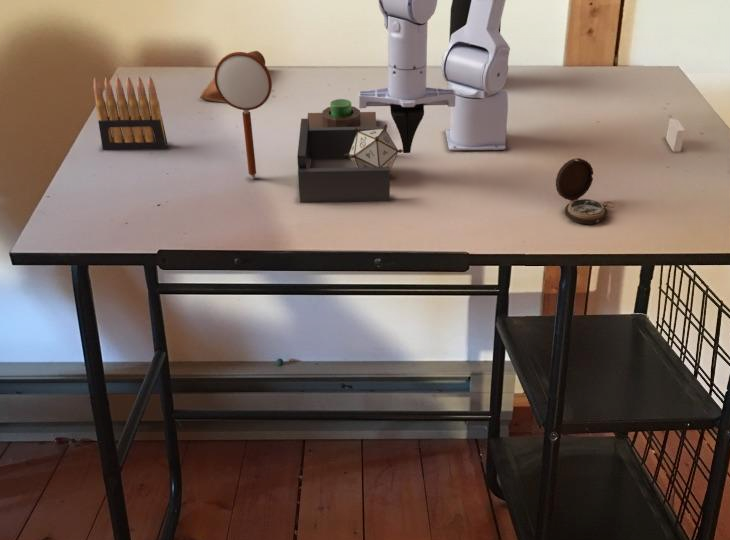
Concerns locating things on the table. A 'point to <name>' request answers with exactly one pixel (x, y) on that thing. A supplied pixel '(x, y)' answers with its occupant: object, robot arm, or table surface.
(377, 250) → the table surface
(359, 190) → the cubby
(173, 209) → the table surface
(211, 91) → the sunglasses case
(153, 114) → the ammunition clip
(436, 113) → the table surface
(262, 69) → the magnifying glass
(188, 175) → the table surface
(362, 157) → the game die
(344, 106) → the button
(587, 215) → the compass
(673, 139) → the eraser
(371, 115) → the box
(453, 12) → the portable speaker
